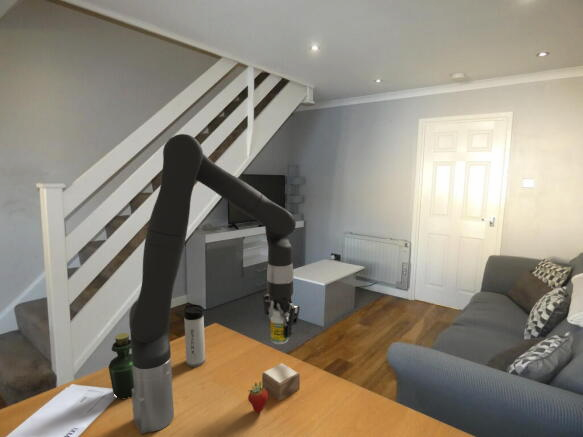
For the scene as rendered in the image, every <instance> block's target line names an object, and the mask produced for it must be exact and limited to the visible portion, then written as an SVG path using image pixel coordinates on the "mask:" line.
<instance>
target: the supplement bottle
mask: <svg viewBox="0 0 583 437" xmlns="http://www.w3.org/2000/svg"><path fill="white" fill-rule="evenodd" d="M285 314H287V312H286V313H284V315H285ZM286 319H287V321H288V317H287V318H286ZM269 327H270V328H269V329H270V342H271V343H273V344H274V345H283V344H286V343H287V342H288V341H289V338H290V337H288V338H285V337H284V323H283V319H282V318H281V316H280V313H279V311H278V310H276V309H273V315H272V316H271V318H269Z"/></svg>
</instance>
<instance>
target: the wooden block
mask: <svg viewBox="0 0 583 437" xmlns="http://www.w3.org/2000/svg"><path fill="white" fill-rule="evenodd" d="M261 373H262V375H261V380H262V381H261V388H264V387H265V388H264V389H265V390H266V391H267V394H270V395H271V396H272V397H273V398H274V399H276V400H278V402H281V401H283V400H284V399H285V398H288V397H289V396H291V395H292V394H294V393H296V392H297V391H298V390H300V387H301V385H300V384H301V383H300V380H301V379H300V378H301V377H300V374H301V373H299V372H297V371H295V370H294V369H293V368H291V367H289V366H288V365H286V364H284V363H283V362H281V363H279V364H277V365H274V367H273V366H272V368H269V369H267V370H265V371H263V372H261Z"/></svg>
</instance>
